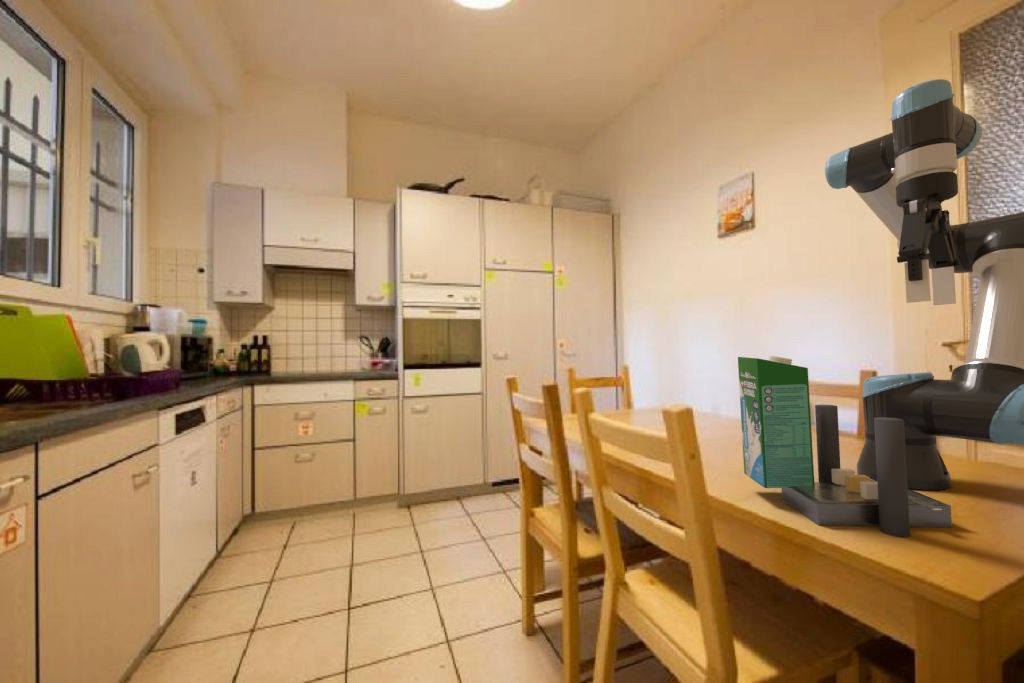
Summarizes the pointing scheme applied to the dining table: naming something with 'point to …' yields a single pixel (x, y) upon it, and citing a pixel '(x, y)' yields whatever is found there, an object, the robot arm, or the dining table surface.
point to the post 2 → (892, 476)
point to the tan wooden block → (855, 481)
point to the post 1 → (827, 441)
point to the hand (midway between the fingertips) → (932, 303)
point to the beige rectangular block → (869, 490)
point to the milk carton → (776, 422)
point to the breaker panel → (860, 506)
